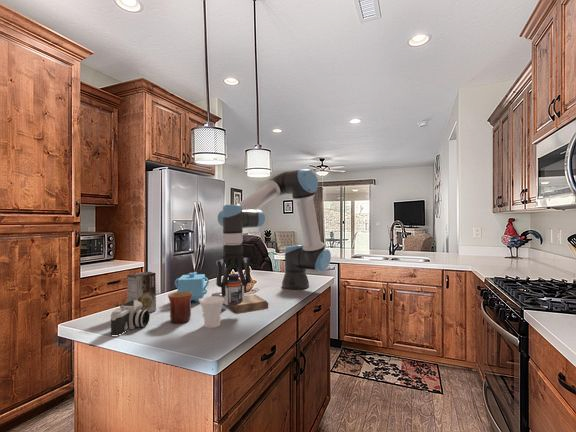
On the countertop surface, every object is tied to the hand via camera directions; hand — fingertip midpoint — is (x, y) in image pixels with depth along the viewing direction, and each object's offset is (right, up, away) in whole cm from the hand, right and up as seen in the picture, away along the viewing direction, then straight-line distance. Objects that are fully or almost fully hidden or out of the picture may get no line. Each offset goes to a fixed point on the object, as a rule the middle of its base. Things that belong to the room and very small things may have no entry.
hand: (234, 302), depth 123 cm
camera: (-34, -6, -13) cm, 37 cm away
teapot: (-24, -6, +27) cm, 37 cm away
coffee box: (-39, -6, +6) cm, 40 cm away
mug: (-20, -6, -4) cm, 21 cm away
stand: (+3, -6, +14) cm, 15 cm away
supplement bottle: (0, -1, 0) cm, 1 cm away
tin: (-8, -6, +9) cm, 13 cm away
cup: (-6, -6, -10) cm, 14 cm away
